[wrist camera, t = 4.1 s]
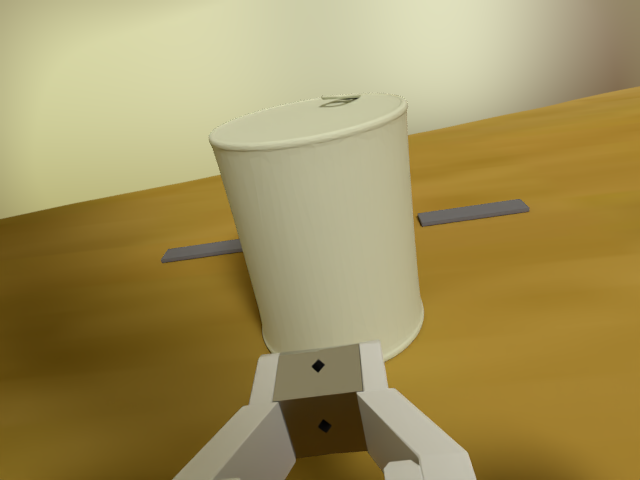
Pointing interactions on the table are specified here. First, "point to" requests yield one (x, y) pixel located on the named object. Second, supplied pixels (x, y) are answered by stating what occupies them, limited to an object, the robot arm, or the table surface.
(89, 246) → the table surface
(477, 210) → the line strip
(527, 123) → the table surface
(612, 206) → the table surface
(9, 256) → the table surface
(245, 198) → the can
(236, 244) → the strip
